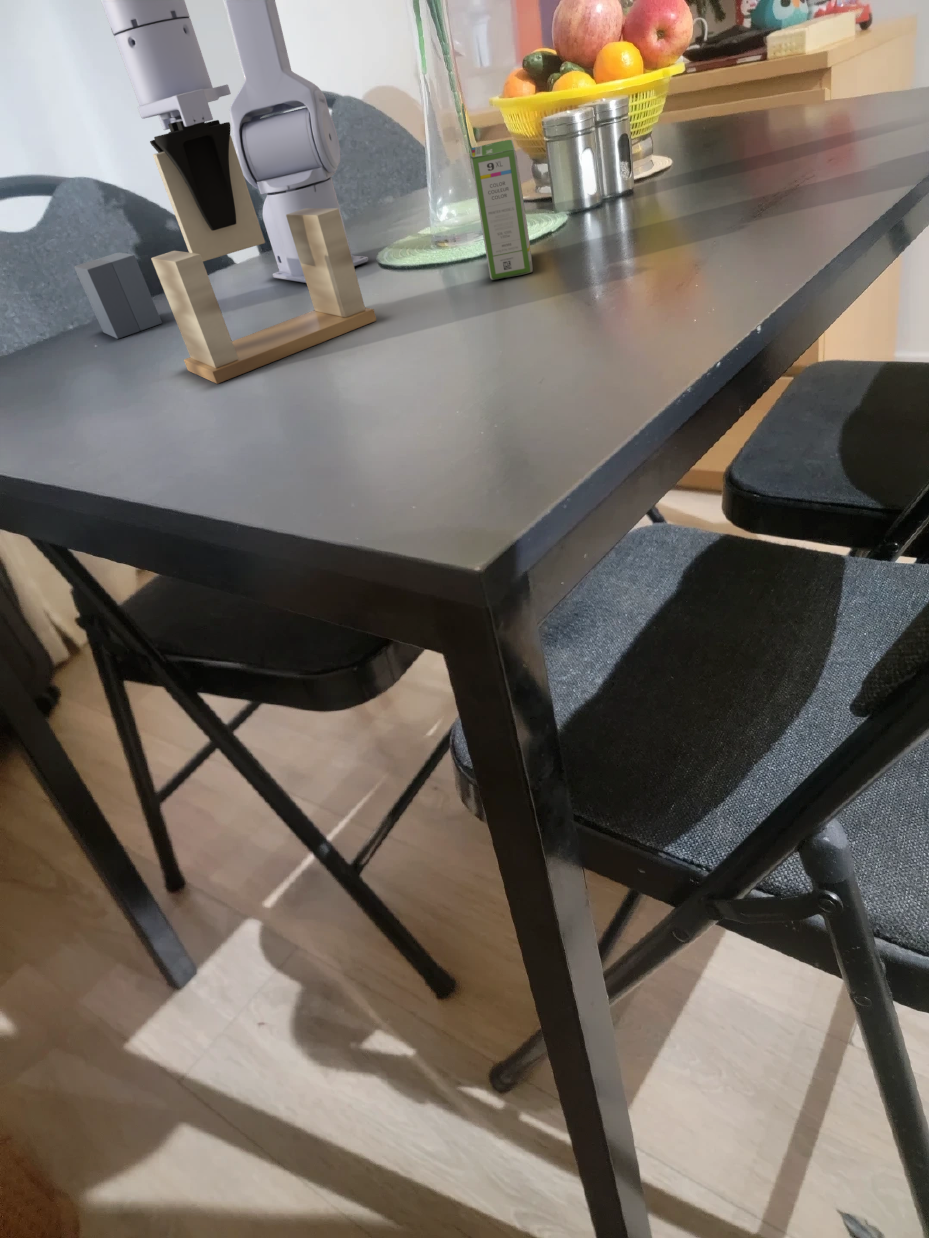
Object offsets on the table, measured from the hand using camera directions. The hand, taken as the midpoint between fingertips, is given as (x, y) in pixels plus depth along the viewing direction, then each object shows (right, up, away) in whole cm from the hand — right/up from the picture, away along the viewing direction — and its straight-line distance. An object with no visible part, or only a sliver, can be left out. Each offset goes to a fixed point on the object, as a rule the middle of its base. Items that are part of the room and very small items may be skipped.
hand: (220, 226), depth 68 cm
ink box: (+25, -1, +7) cm, 26 cm away
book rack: (+5, -9, +2) cm, 11 cm away
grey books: (-16, -1, +21) cm, 26 cm away
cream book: (0, -2, +1) cm, 2 cm away
